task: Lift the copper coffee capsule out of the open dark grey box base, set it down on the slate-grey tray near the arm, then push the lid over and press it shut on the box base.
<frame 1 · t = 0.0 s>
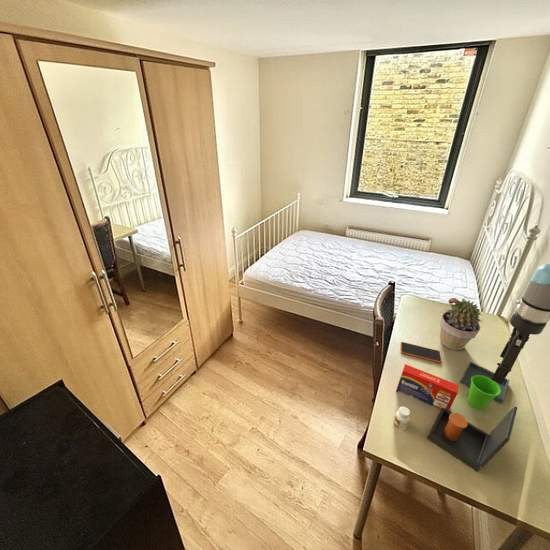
hand: (500, 369, 93), 24 cm above the table, tool pointing down, fingers open, 13 cm apart
lid: (498, 436, 87), point 12 cm above the table, hinge at 95.0°
pill bottle: (399, 425, 102), on the table
tray: (483, 383, 118), on the table
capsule: (450, 434, 98), point 1 cm above the table, touching dark grey box base
cup: (474, 405, 109), on the table
smartphone: (419, 352, 132), on the table
potted plant: (453, 343, 138), on the table
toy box: (421, 399, 111), on the table
dark grey box base: (456, 440, 97), on the table
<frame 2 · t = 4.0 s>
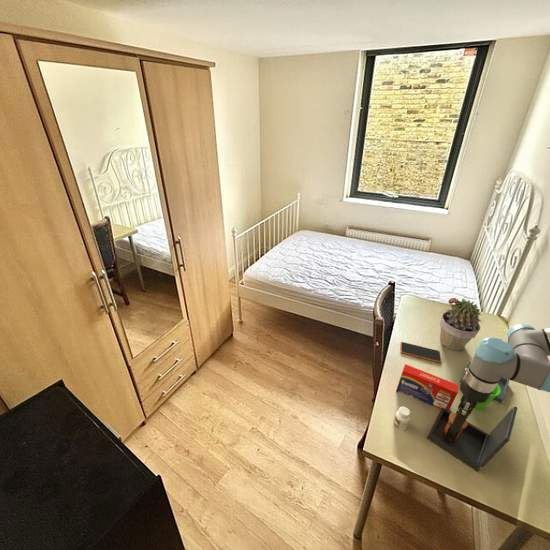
hand: (452, 431, 97), 3 cm above the table, tool pointing down, fingers closed on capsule, 5 cm apart
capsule: (450, 434, 98), point 1 cm above the table, touching dark grey box base, gripper
everything else where it was.
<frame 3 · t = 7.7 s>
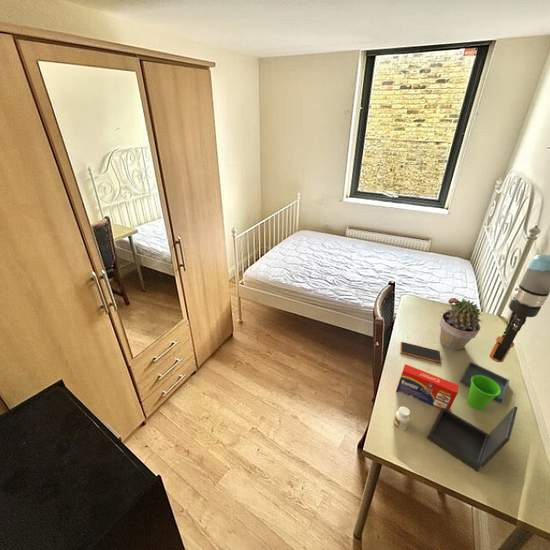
hand: (498, 354, 105), 20 cm above the table, tool pointing down, fingers closed on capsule, 5 cm apart
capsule: (496, 358, 106), point 18 cm above the table, touching gripper
everything else where it was.
when the fingers open (2 cm above the table, at t = 11.7 s): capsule stays where it is, resting on tray.
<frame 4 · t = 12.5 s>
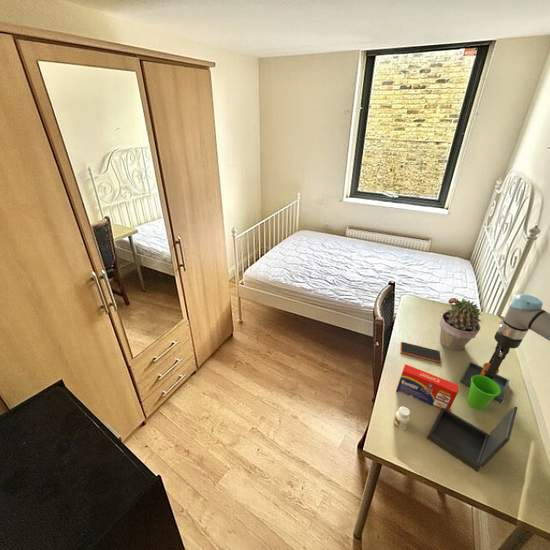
hand: (488, 374, 116), 5 cm above the table, tool pointing down, fingers open, 13 cm apart
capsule: (483, 381, 118), point 1 cm above the table, touching tray
everything else where it was.
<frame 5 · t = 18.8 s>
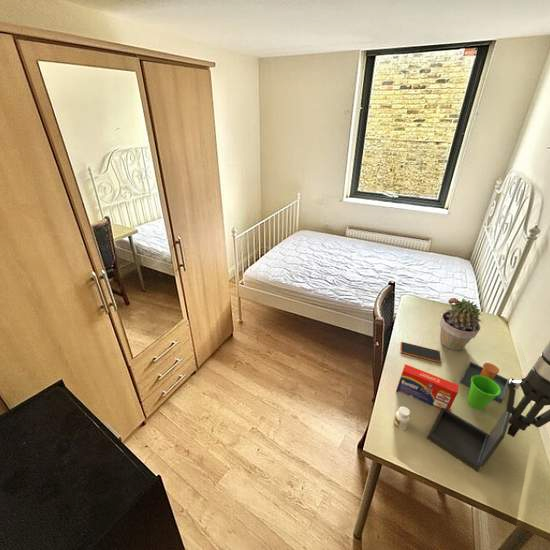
hand: (511, 432, 83), 16 cm above the table, tool pointing down, fingers closed
lid: (496, 435, 87), point 12 cm above the table, hinge at 90.7°, touching gripper
everything else where it was.
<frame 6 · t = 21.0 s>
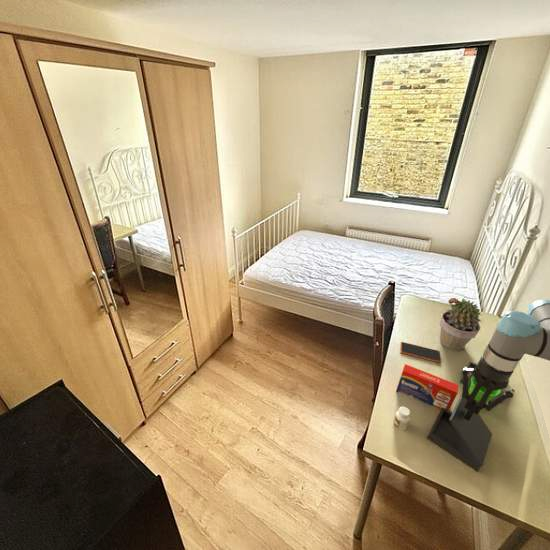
hand: (467, 416, 91), 12 cm above the table, tool pointing down, fingers closed
lid: (471, 427, 92), point 9 cm above the table, hinge at 41.8°, touching gripper
everything else where it was.
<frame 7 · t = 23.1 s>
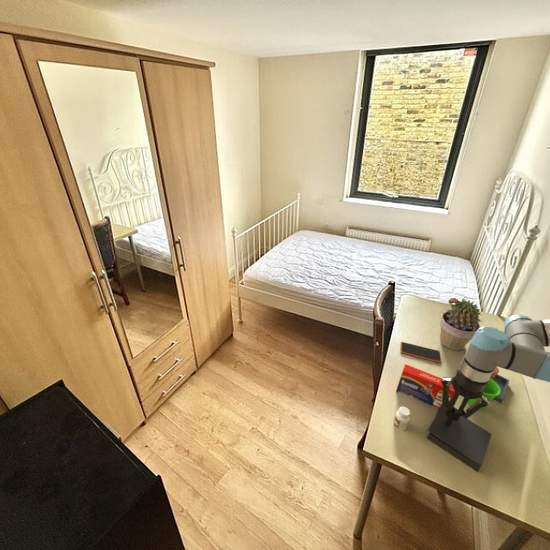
hand: (448, 423, 97), 5 cm above the table, tool pointing down, fingers closed
lid: (459, 432, 95), point 4 cm above the table, hinge at 3.0°, touching gripper
everything else where it was.
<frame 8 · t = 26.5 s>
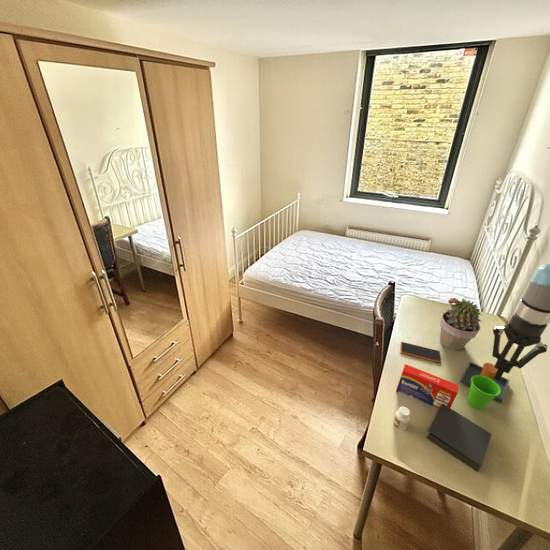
hand: (497, 376, 92), 22 cm above the table, tool pointing down, fingers closed
lid: (459, 432, 95), point 4 cm above the table, hinge at 2.9°
everything else where it was.
at the end: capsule inside the target area in the tray (0.1 cm from its centre), point 0.6 cm above the tray's base; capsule tilted 0°; lid at +3° (first picture: +95°) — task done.
